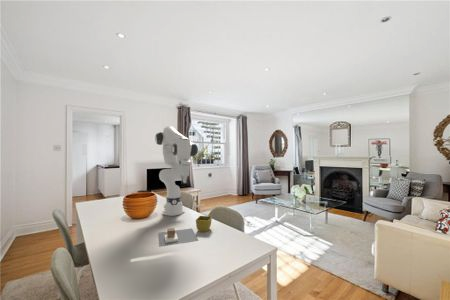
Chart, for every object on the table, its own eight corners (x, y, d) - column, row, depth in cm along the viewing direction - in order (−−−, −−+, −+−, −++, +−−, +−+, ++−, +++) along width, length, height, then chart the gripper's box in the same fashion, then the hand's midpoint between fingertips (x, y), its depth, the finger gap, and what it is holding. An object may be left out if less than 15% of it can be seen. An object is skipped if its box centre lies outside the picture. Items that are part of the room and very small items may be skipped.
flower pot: (208, 234, 127) (208, 220, 127) (195, 233, 129) (195, 219, 129) (211, 229, 136) (211, 216, 136) (199, 228, 137) (199, 215, 138)
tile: (164, 234, 120) (165, 240, 112) (176, 233, 122) (177, 238, 115) (164, 237, 120) (165, 243, 112) (176, 235, 122) (177, 241, 115)
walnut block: (167, 235, 119) (167, 228, 119) (174, 234, 121) (174, 227, 121) (167, 238, 115) (167, 231, 116) (174, 237, 117) (174, 230, 117)
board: (157, 234, 127) (157, 232, 127) (192, 230, 134) (192, 228, 134) (159, 248, 108) (159, 246, 108) (198, 242, 116) (198, 240, 116)
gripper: (177, 160, 142) (176, 180, 141) (181, 162, 122) (181, 184, 122) (186, 160, 144) (185, 179, 144) (191, 161, 125) (191, 183, 124)
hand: (183, 181), depth 133 cm, fingers open, 8 cm apart
